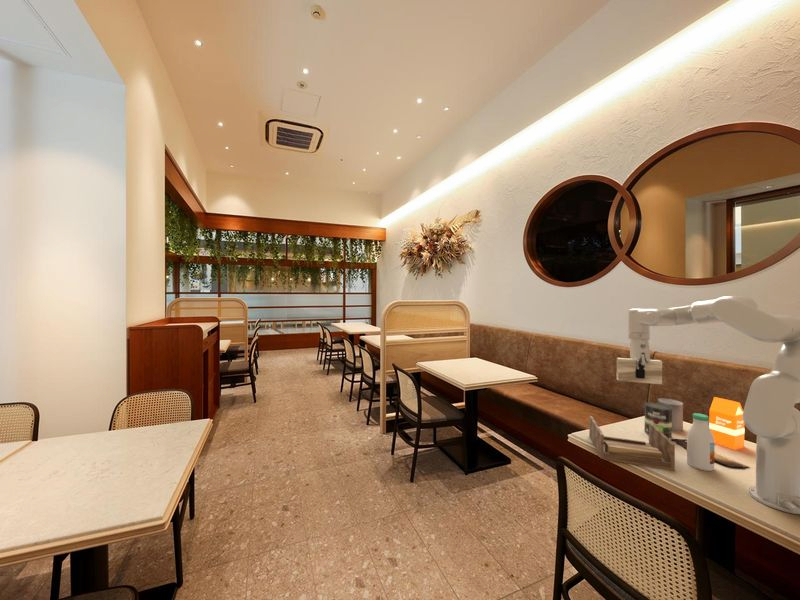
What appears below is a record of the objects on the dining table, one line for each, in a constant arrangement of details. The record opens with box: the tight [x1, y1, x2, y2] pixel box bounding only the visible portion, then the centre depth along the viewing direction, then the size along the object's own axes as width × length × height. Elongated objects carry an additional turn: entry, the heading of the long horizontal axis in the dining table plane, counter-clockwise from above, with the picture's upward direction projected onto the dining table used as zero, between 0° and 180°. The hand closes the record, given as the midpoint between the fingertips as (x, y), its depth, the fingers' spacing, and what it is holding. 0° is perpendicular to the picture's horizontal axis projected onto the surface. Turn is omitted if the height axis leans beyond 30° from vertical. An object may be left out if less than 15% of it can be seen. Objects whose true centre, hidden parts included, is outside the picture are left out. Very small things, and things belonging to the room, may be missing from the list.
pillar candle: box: [657, 397, 684, 433], centre depth 158 cm, size 10×10×15 cm
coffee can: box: [643, 402, 673, 440], centre depth 150 cm, size 10×10×14 cm
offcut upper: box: [605, 441, 662, 458], centre depth 127 cm, size 4×18×2 cm, turn 72°
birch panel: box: [616, 357, 663, 385], centre depth 140 cm, size 3×16×10 cm, turn 69°
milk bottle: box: [686, 412, 716, 472], centre depth 122 cm, size 8×8×20 cm
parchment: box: [670, 438, 749, 470], centre depth 132 cm, size 25×10×1 cm, turn 8°
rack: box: [588, 415, 676, 472], centre depth 133 cm, size 22×24×10 cm
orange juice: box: [708, 396, 746, 450], centre depth 141 cm, size 8×9×20 cm
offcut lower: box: [605, 447, 662, 461], centre depth 127 cm, size 4×18×2 cm, turn 69°
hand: (638, 376), depth 140 cm, fingers closed on birch panel, 3 cm apart
